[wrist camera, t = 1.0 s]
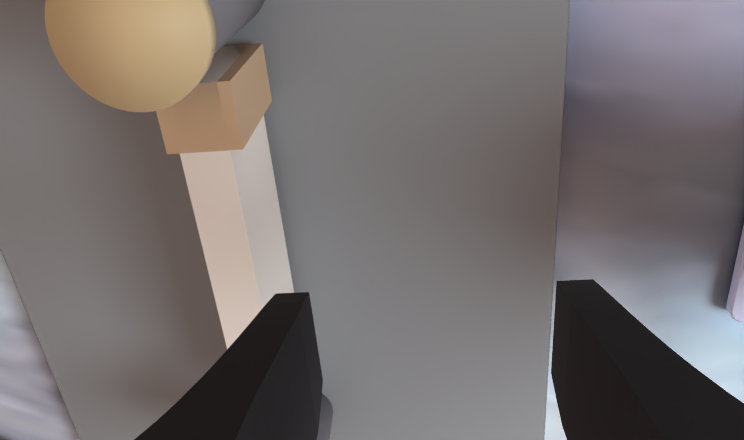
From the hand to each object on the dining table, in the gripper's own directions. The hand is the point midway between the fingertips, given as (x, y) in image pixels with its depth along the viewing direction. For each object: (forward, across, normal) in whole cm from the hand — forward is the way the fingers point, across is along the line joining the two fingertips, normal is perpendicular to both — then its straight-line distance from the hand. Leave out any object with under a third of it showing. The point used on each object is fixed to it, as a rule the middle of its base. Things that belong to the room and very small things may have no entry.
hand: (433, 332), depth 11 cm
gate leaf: (+8, +5, +2) cm, 10 cm away
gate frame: (+9, +5, +3) cm, 11 cm away
